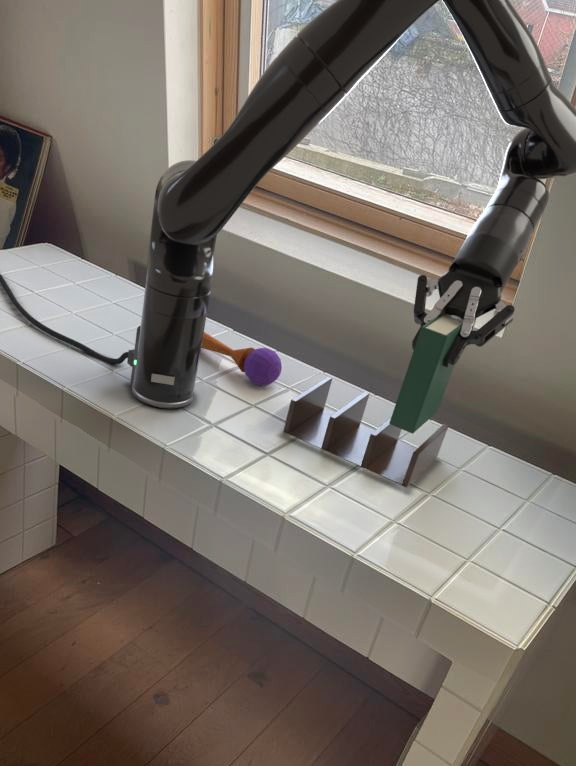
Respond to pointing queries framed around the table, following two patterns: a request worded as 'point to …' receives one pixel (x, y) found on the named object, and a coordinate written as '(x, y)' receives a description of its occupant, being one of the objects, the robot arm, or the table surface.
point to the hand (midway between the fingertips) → (431, 358)
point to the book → (426, 374)
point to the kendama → (249, 360)
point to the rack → (359, 436)
